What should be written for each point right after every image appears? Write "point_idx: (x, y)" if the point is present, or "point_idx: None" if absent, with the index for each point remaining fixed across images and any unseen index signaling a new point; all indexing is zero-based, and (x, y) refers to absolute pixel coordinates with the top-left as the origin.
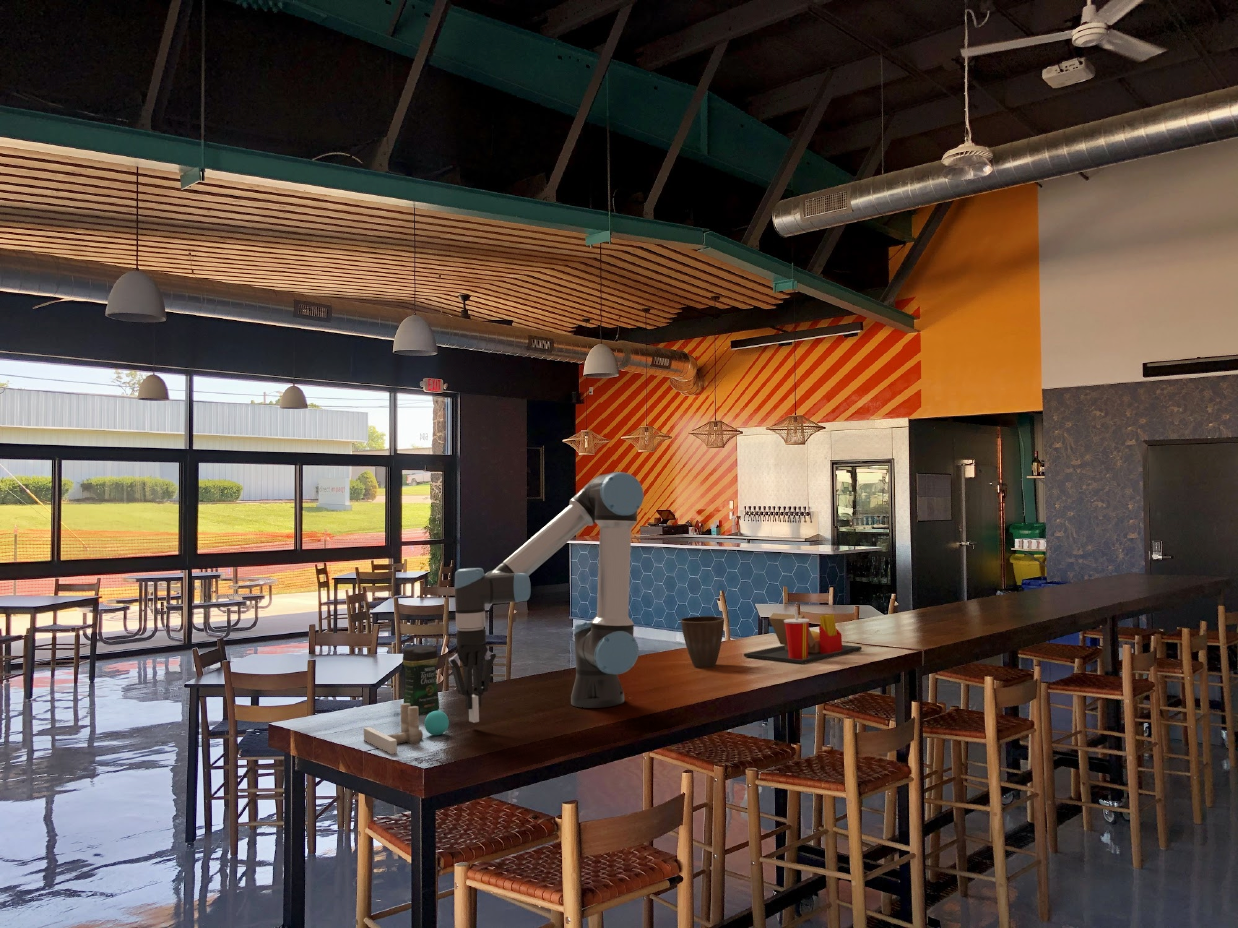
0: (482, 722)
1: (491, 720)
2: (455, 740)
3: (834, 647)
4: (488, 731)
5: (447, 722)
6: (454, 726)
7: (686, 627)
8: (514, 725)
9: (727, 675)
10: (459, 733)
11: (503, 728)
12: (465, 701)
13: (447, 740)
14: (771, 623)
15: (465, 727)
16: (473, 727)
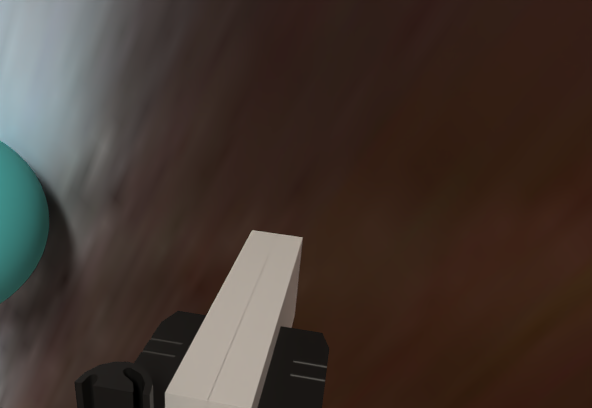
0: (461, 117)
1: (567, 116)
2: (58, 382)
3: None
4: None
5: (2, 301)
6: (211, 45)
7: None
8: (534, 393)
9: None
10: (142, 272)
11: (424, 394)
12: (135, 361)
13: (21, 348)
14: None
15: (258, 156)
16: (302, 207)
